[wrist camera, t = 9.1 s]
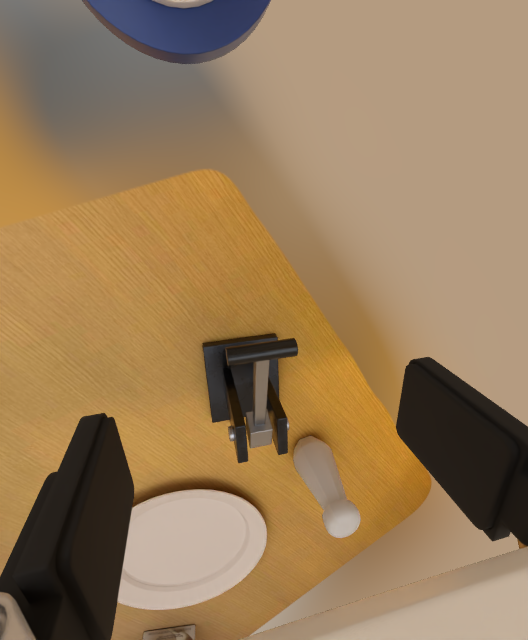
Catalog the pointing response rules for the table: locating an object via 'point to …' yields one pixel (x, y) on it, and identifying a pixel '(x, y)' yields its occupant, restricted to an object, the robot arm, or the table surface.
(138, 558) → the plate
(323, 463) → the salt shaker
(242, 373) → the bracket
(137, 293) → the table surface
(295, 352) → the lever
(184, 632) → the coffee box
